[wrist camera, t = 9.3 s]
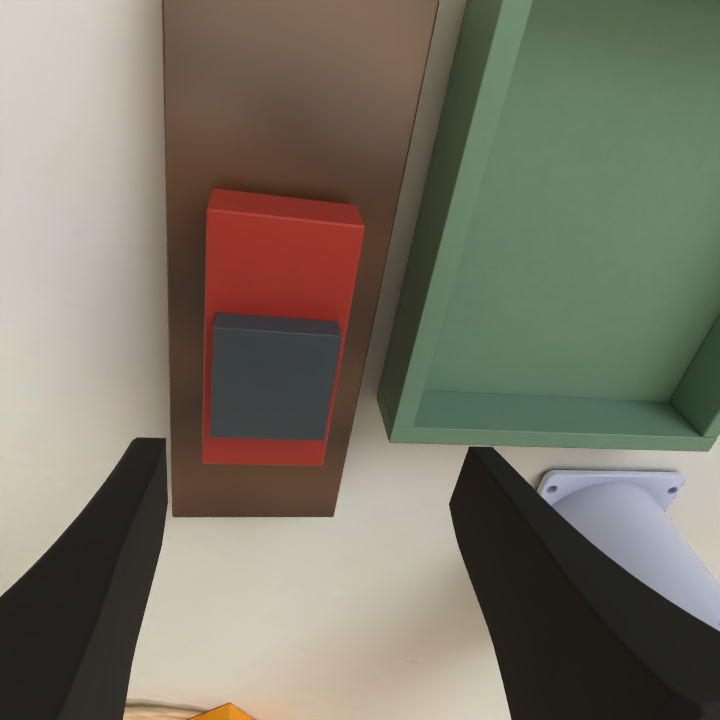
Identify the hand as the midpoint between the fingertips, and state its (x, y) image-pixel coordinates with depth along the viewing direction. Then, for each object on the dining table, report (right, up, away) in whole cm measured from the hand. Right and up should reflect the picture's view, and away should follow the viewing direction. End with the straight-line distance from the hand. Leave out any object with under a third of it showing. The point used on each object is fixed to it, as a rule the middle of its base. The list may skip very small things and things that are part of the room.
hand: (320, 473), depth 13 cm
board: (-2, +5, +7) cm, 9 cm away
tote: (+10, +8, +8) cm, 15 cm away
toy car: (-2, +4, +6) cm, 7 cm away
